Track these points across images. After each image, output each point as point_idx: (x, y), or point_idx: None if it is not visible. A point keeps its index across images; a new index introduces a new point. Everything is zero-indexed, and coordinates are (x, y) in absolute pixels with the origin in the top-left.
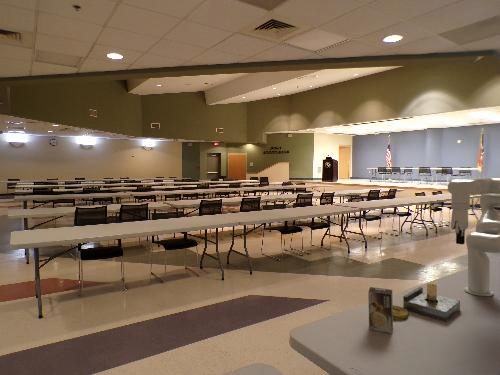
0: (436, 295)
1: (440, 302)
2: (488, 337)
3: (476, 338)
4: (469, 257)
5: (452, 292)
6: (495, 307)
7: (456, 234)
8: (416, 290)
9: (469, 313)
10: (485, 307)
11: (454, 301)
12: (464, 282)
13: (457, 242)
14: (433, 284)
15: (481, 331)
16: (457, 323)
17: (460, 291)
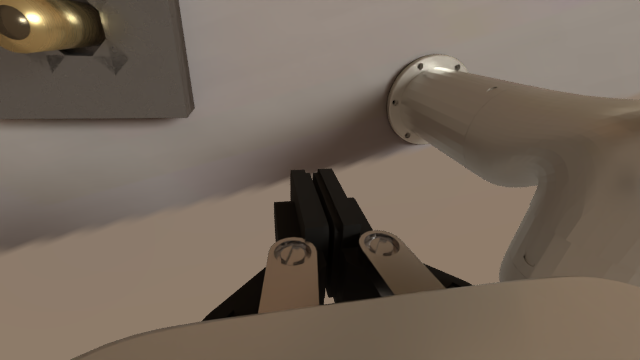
0: (61, 49)
1: (86, 65)
2: (57, 223)
3: (12, 207)
4: (512, 109)
5: (371, 25)
6: None
7: (268, 265)
8: None
9: (192, 138)
10: (289, 156)
11: (157, 105)
12: (523, 27)
13: (291, 189)
14: (23, 31)
15: (79, 201)
16: (64, 139)
17: (401, 48)
